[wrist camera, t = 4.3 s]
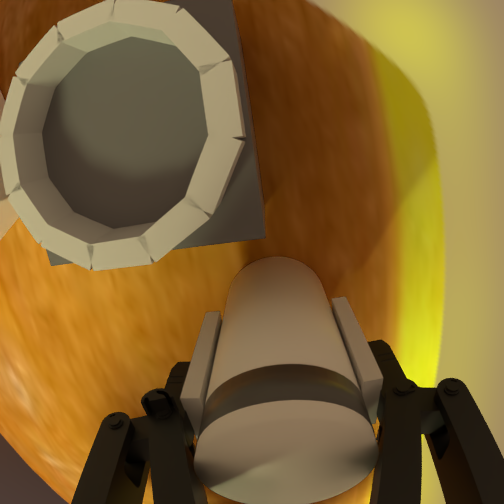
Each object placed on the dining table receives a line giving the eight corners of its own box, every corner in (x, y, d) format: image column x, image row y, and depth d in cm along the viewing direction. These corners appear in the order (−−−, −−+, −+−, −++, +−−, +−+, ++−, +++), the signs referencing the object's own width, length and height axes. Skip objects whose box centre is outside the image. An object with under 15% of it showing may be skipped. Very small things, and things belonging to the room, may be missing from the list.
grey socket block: (264, 206, 18) (265, 256, 10) (104, 230, 18) (27, 283, 11) (239, 34, 14) (223, -36, 7) (79, 77, 15) (-9, 58, 8)
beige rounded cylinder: (325, 335, 20) (367, 494, 9) (235, 345, 21) (215, 508, 10) (322, 250, 18) (393, 400, 7) (219, 262, 19) (168, 422, 8)
